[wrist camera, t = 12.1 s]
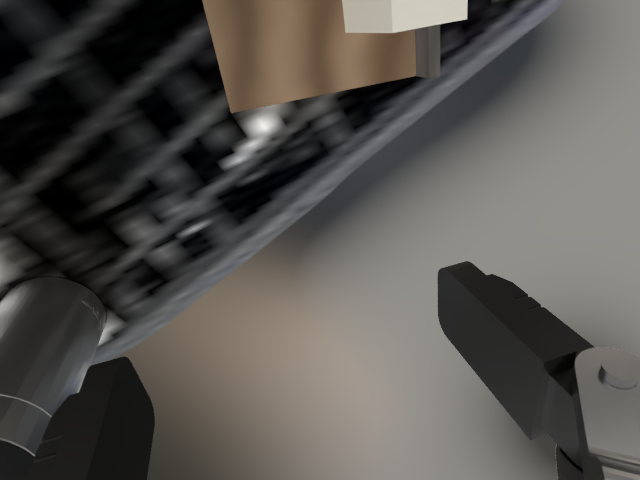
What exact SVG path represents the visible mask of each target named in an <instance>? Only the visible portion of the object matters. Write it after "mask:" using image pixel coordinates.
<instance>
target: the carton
mask: <svg viewBox="0 0 640 480" xmlns="http://www.w3.org/2000/svg"><path fill="white" fill-rule="evenodd" d="M467 2H468V0H342V5H343V14H344V23H345V33H396V32H402V31H407V30H412V29H417V28H423V27H428V26H433V25H438V24H444V23H449V22H454V21H460V20H465V19H467Z"/></svg>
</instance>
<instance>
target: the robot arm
mask: <svg viewBox="0 0 640 480" xmlns="http://www.w3.org/2000/svg"><path fill="white" fill-rule="evenodd" d="M438 317H439V321H440V325H441V328H442V330H443V332H444V334H445V335H446V336H447V338H448V339H449V340H450V341H451V343H452V344H453V345H454V346H455V348H456V349H457V350H458V351H459V353H460V354H461V355H462V356H463V358H464V359H465V360H466V361H467V363H468V364H469V365H470V366H471V368H472V369H473V370H474V371H475V372H476V374H477V375H478V376H479V377H480V379H481V380H482V381H483V382H484V384H485V385H486V386H487V387H488V388H489V390H490V391H491V392H492V393H493V394H494V396H495V397H496V398H497V400H498V401H499V402H500V403H501V404H502V406H503V407H504V408H505V409H506V411H507V412H508V413H509V414H510V416H511V417H512V418H513V419H514V421H515V422H516V423H517V424H518V425H519V427H520V428H521V429H522V430H523V432H524V433H525V434H526V435H527V437H528V438H529V439H530V440H533V439H535V438H538V437H541V436H543V435H546V434H549V435H550V436H551V437H552V438H553V440H554V441H555V442H556V443H557V445H556V452H555V454H556V464H557V476H558V480H640V357H638V356H636V355H633V354H631V353H629V352H626V351H622V350H619V349H614V348H606V347H596V348H595V347H594V346H593V345H591V344H590V343H589V342H587V341H586V340H585V339H583V338H582V337H581V336H580V335H578V334H577V333H576V332H575V331H573V330H572V329H571V328H570V327H568V326H567V325H566V324H564V323H563V322H562V321H561V320H559V319H558V318H557V317H556V316H554V315H553V314H552V313H551V312H549V311H548V310H547V309H546V308H544V307H543V308H542V307H541V305H540V304H539V303H538V302H537V301H535V300H534V299H533V298H531V297H528V294H526V293H525V292H524V291H523V290H521V289H520V288H519V287H518V286H516V285H515V284H514V283H513V282H510V281H508V280H505V279H503V278H501V277H498V276H496V275H493V274H491V275H485V274H484V273H483V272H482V271H481V270H479V269H478V268H477V267H476V266H474V265H473V264H472V263H471V262H468V261H466V262H462V263H459V264H455V265H452V266H448V267H445V268H442V269H440V270H439V272H438ZM105 322H106V311H105V309H104V306H103V304H102V302H101V301H100V299H99V298H98V297H97V296H96V295H95V294H94V293H93V292H92V291H91V290H89V289H88V288H86V287H84V286H83V285H81V284H78V283H76V282H73V281H71V280H66V279H62V278H53V277H44V278H35V279H31V280H27V281H25V282H22V283H20V284H18V285H16V286H15V287H14V288H12V289H11V290H10V291H9V292H8V293H7V294H6V296H5V297H4V298H3V299H2V300H1V301H0V480H147V475H148V468H149V461H150V455H151V448H152V440H153V434H154V425H155V416H154V409H153V405H152V402H151V399H150V397H149V395H148V393H147V392H146V389H145V388H144V386H143V384H142V382H141V380H140V378H139V376H138V374H137V372H136V370H135V368H134V367H133V365H132V363H131V362H130V360H129V359H128V358H127V357H121V358H117V359H113V360H110V361H106V362H103V363H99V364H95V365H92V366H90V365H91V362H92V359H93V357H94V354H95V351H96V349H97V346H98V343H99V340H100V338H101V335H102V332H103V329H104V327H105Z"/></svg>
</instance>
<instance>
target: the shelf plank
mask: <svg viewBox="0 0 640 480" xmlns="http://www.w3.org/2000/svg"><path fill="white" fill-rule="evenodd" d="M202 1H203V5H204V9H205V13H206V17H207V21H208V25H209V29H210V33H211V36H212V40H213V44H214V48H215V52H216V56H217V60H218V64H219V68H220V72H221V76H222V79H223V83H224V87H225V91H226V95H227V99H228V103H229V107H230V111H231V113H234V112H239V111H244V110H249V109H254V108H259V107H264V106H269V105H274V104H279V103H284V102H289V101H294V100H299V99H304V98H309V97H314V96H318V95H323V94H328V93H333V92H338V91H343V90H348V89H353V88H358V87H363V86H368V85H373V84H378V83H383V82H388V81H393V80H398V79H403V78H408V77H413V76H420V77H424V78H429V79H430V78H435V77H440V24H438V25H433V26H428V27H423V28H417V29H412V30H407V31H402V32H396V33H345V23H344V14H343V5H342V0H202Z"/></svg>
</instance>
